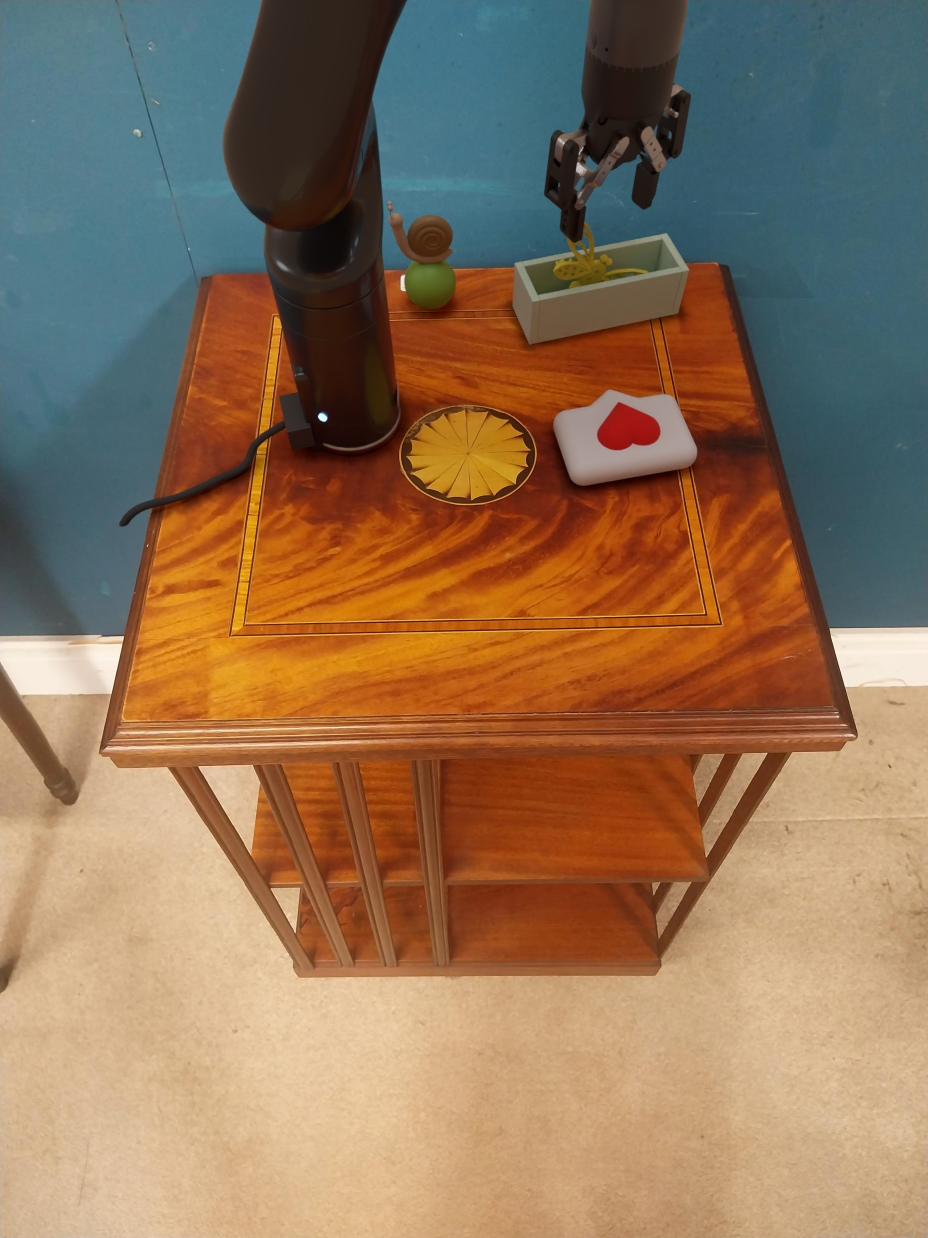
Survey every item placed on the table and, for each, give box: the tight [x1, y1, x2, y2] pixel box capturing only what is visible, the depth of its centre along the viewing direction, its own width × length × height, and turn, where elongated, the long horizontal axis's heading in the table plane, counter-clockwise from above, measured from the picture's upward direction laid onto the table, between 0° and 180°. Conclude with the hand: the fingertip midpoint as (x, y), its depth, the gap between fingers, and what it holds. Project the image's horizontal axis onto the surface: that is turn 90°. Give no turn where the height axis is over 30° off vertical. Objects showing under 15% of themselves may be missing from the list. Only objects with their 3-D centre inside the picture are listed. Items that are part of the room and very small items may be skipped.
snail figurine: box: [386, 200, 457, 311], centre depth 86 cm, size 5×6×12 cm
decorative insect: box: [553, 220, 649, 290], centre depth 87 cm, size 13×3×10 cm
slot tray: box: [512, 233, 690, 345], centre depth 88 cm, size 17×6×6 cm, turn 105°
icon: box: [552, 389, 698, 487], centre depth 80 cm, size 12×4×10 cm
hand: (606, 220), depth 82 cm, fingers open, 8 cm apart
